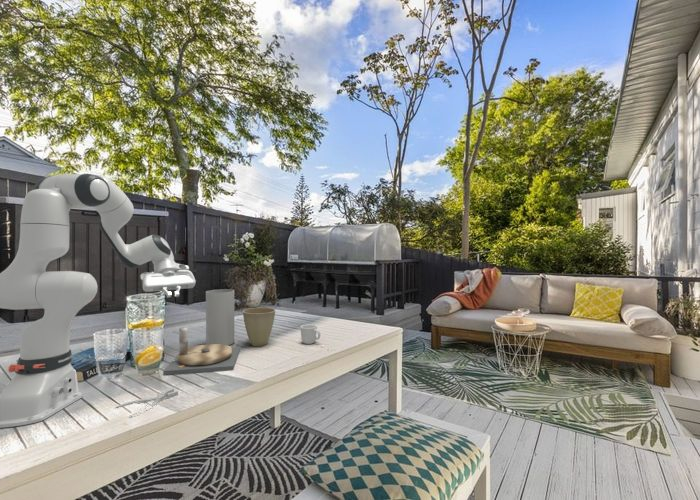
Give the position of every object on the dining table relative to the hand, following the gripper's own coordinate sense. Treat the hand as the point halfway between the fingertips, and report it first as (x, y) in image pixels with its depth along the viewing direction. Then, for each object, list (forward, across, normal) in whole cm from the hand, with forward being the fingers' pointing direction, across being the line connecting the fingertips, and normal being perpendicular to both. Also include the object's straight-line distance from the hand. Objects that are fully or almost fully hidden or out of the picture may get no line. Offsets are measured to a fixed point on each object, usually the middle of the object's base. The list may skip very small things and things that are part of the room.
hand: (173, 296), depth 141 cm
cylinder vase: (+15, +21, +21) cm, 34 cm away
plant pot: (+24, +35, +12) cm, 44 cm away
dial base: (+29, +7, +7) cm, 31 cm away
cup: (+35, +53, +1) cm, 64 cm away
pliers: (+47, -18, -10) cm, 51 cm away
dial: (+28, +7, +6) cm, 29 cm away
